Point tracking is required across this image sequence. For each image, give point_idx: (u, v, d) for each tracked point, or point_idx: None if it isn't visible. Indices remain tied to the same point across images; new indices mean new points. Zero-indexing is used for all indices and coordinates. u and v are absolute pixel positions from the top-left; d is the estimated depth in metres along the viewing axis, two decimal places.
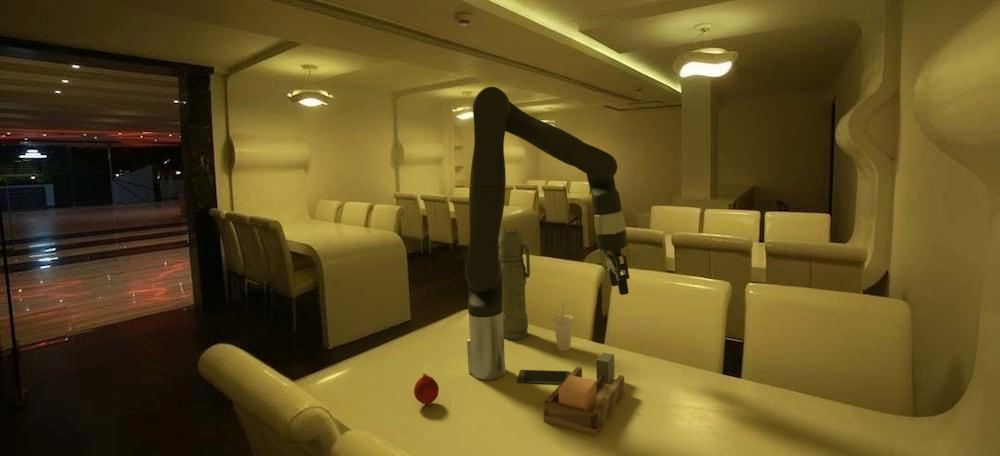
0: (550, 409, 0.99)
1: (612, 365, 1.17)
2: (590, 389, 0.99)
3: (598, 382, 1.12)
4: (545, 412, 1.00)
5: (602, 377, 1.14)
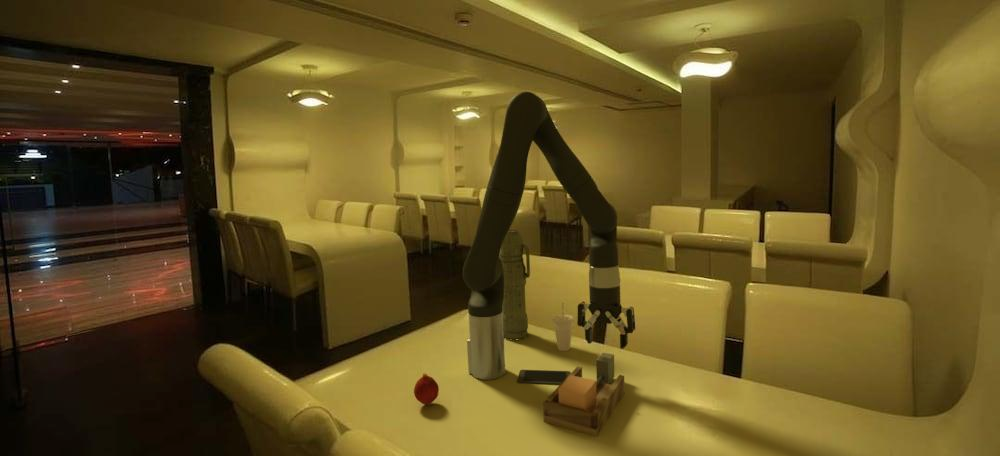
0: (550, 409, 0.99)
1: (612, 365, 1.17)
2: (590, 389, 0.99)
3: (598, 382, 1.12)
4: (545, 412, 1.00)
5: (602, 377, 1.14)
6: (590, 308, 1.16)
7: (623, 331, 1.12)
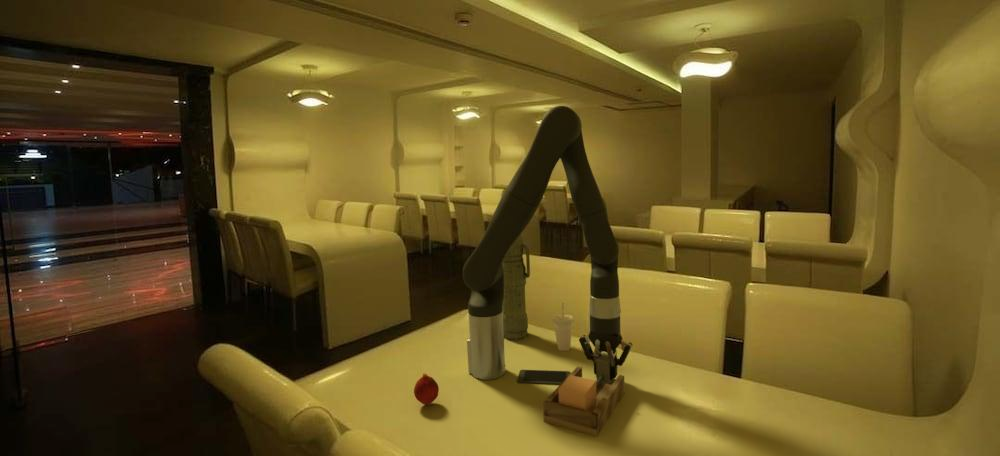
0: (550, 409, 0.99)
1: None
2: (590, 389, 0.99)
3: (598, 382, 1.12)
4: (545, 412, 1.00)
5: (602, 377, 1.14)
6: (590, 337, 1.17)
7: (613, 363, 1.14)
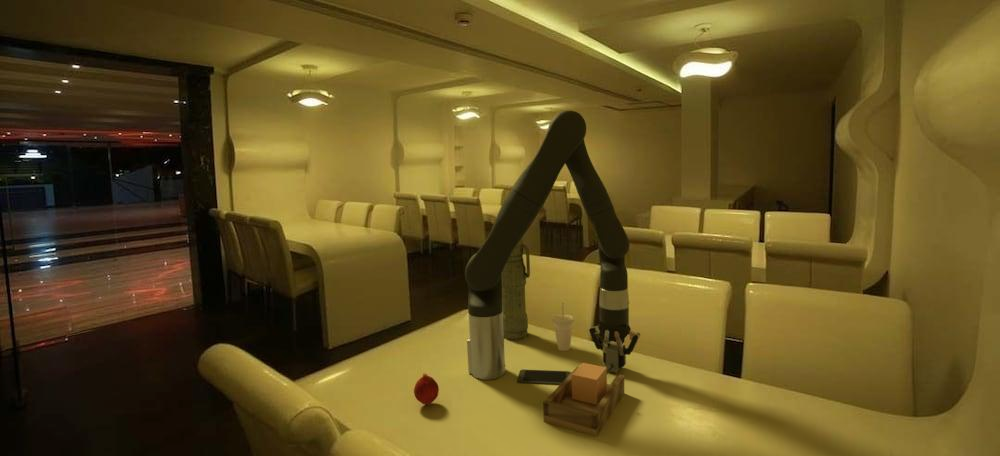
0: (550, 409, 0.99)
1: None
2: (601, 375, 1.05)
3: (608, 370, 1.18)
4: (545, 412, 1.00)
5: (611, 365, 1.20)
6: (600, 328, 1.23)
7: (621, 352, 1.21)
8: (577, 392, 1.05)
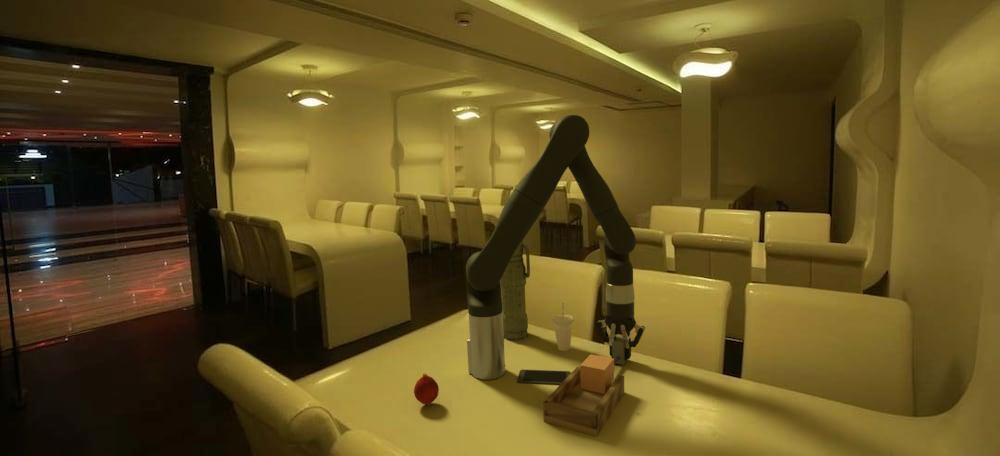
0: (550, 409, 0.99)
1: None
2: (609, 366, 1.10)
3: (614, 362, 1.23)
4: (545, 412, 1.00)
5: (617, 358, 1.25)
6: (607, 322, 1.28)
7: (627, 345, 1.25)
8: (586, 382, 1.10)
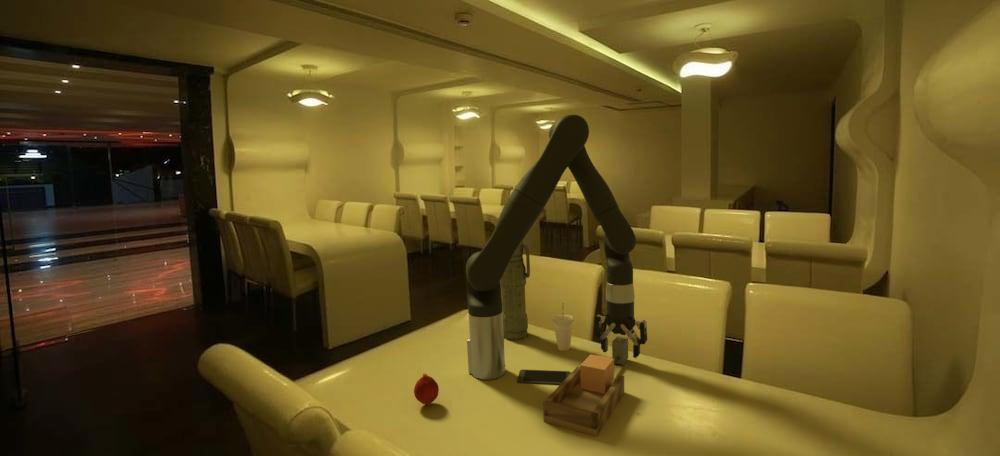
0: (550, 409, 0.99)
1: (626, 347, 1.28)
2: (609, 366, 1.10)
3: (614, 362, 1.23)
4: (545, 412, 1.00)
5: (617, 357, 1.25)
6: (606, 320, 1.28)
7: (636, 342, 1.24)
8: (586, 382, 1.10)
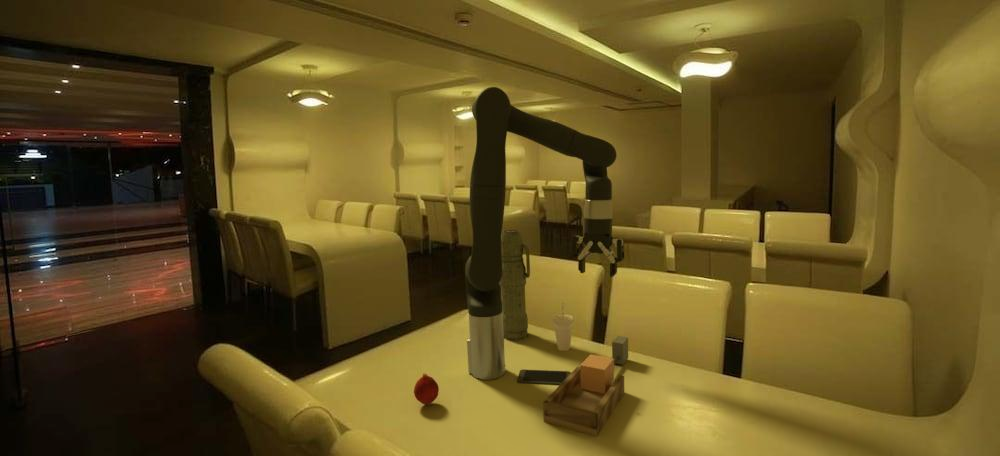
0: (550, 409, 0.99)
1: (626, 347, 1.28)
2: (609, 366, 1.10)
3: (614, 362, 1.23)
4: (545, 412, 1.00)
5: (617, 357, 1.25)
6: (584, 240, 1.26)
7: (613, 260, 1.22)
8: (586, 382, 1.10)
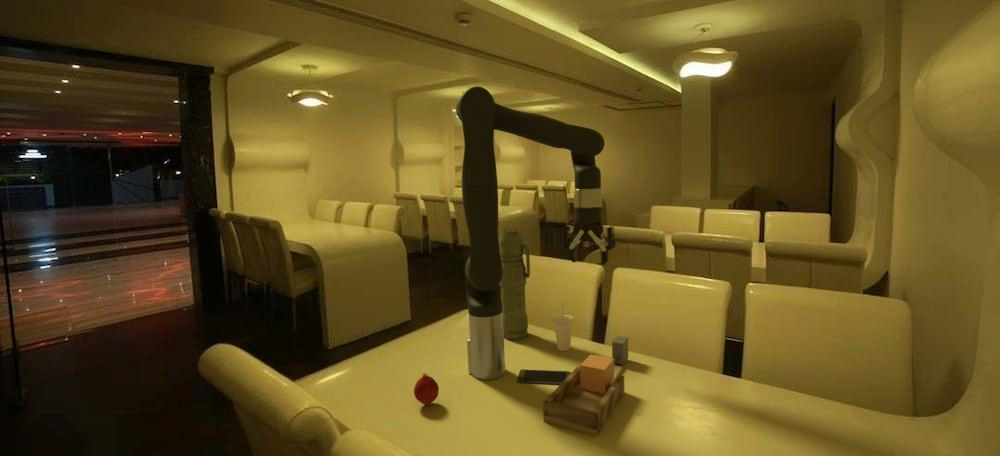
0: (550, 409, 0.99)
1: (626, 347, 1.28)
2: (609, 366, 1.10)
3: (614, 362, 1.23)
4: (545, 412, 1.00)
5: (617, 357, 1.25)
6: (575, 229, 1.27)
7: (604, 248, 1.23)
8: (586, 382, 1.10)
